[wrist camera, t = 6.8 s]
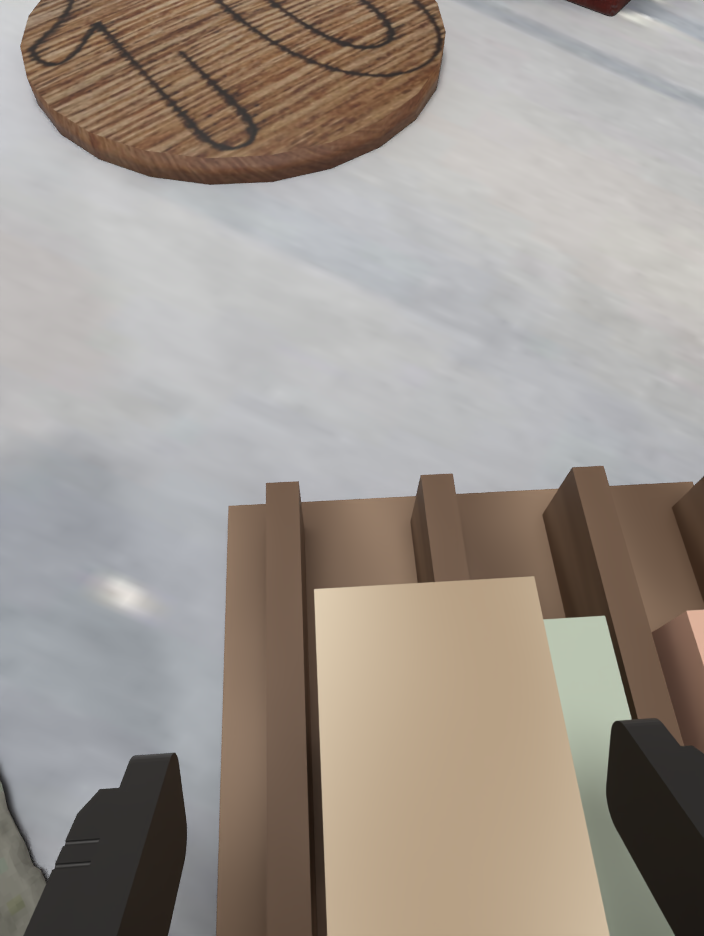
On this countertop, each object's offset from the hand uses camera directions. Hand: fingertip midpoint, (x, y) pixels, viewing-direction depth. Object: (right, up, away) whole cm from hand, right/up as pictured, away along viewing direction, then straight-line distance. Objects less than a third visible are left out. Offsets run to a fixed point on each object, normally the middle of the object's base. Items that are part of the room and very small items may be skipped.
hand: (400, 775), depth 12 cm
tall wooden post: (0, -4, +7) cm, 8 cm away
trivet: (-8, +31, +29) cm, 43 cm away
